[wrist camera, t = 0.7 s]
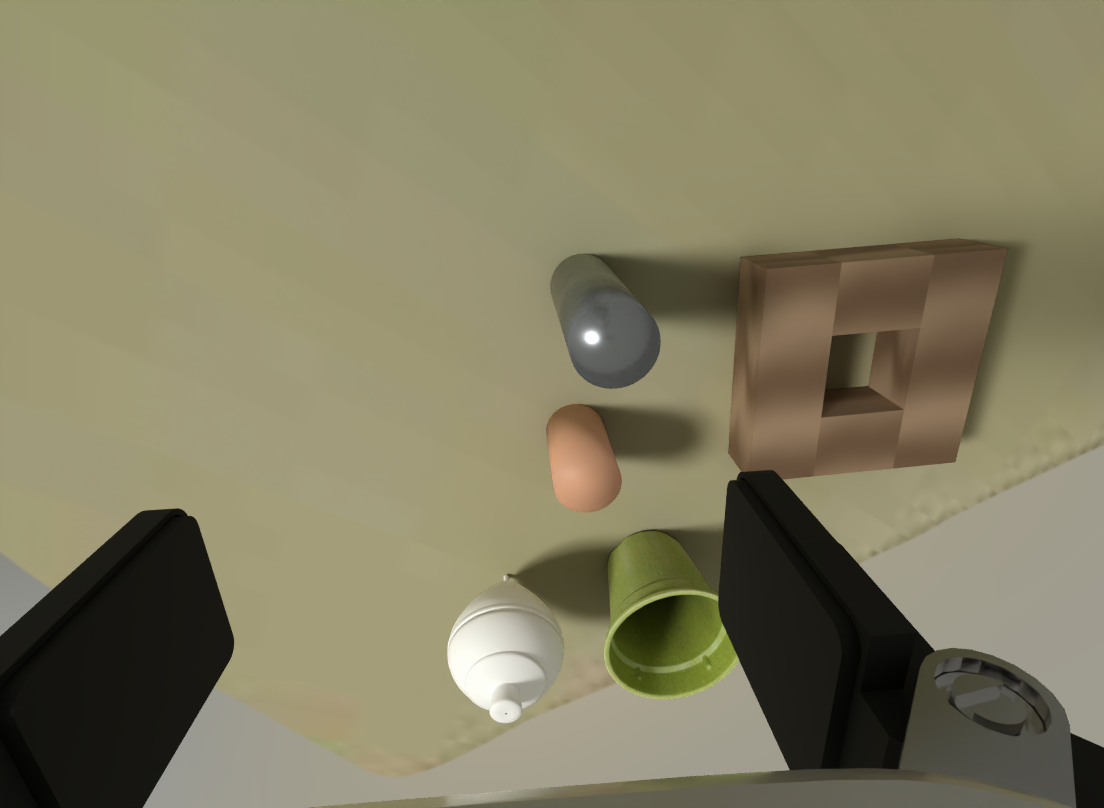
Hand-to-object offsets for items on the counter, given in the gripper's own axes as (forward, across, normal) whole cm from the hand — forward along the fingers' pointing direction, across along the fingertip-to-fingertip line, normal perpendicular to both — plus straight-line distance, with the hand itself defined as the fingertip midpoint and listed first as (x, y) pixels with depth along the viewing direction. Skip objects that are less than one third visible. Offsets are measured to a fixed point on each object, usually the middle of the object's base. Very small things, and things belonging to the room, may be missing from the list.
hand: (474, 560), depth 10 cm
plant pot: (+29, -10, +22) cm, 37 cm away
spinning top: (+28, +2, +22) cm, 36 cm away
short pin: (+28, -4, +10) cm, 30 cm away
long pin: (+28, -5, 0) cm, 28 cm away
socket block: (+28, -22, +6) cm, 36 cm away
